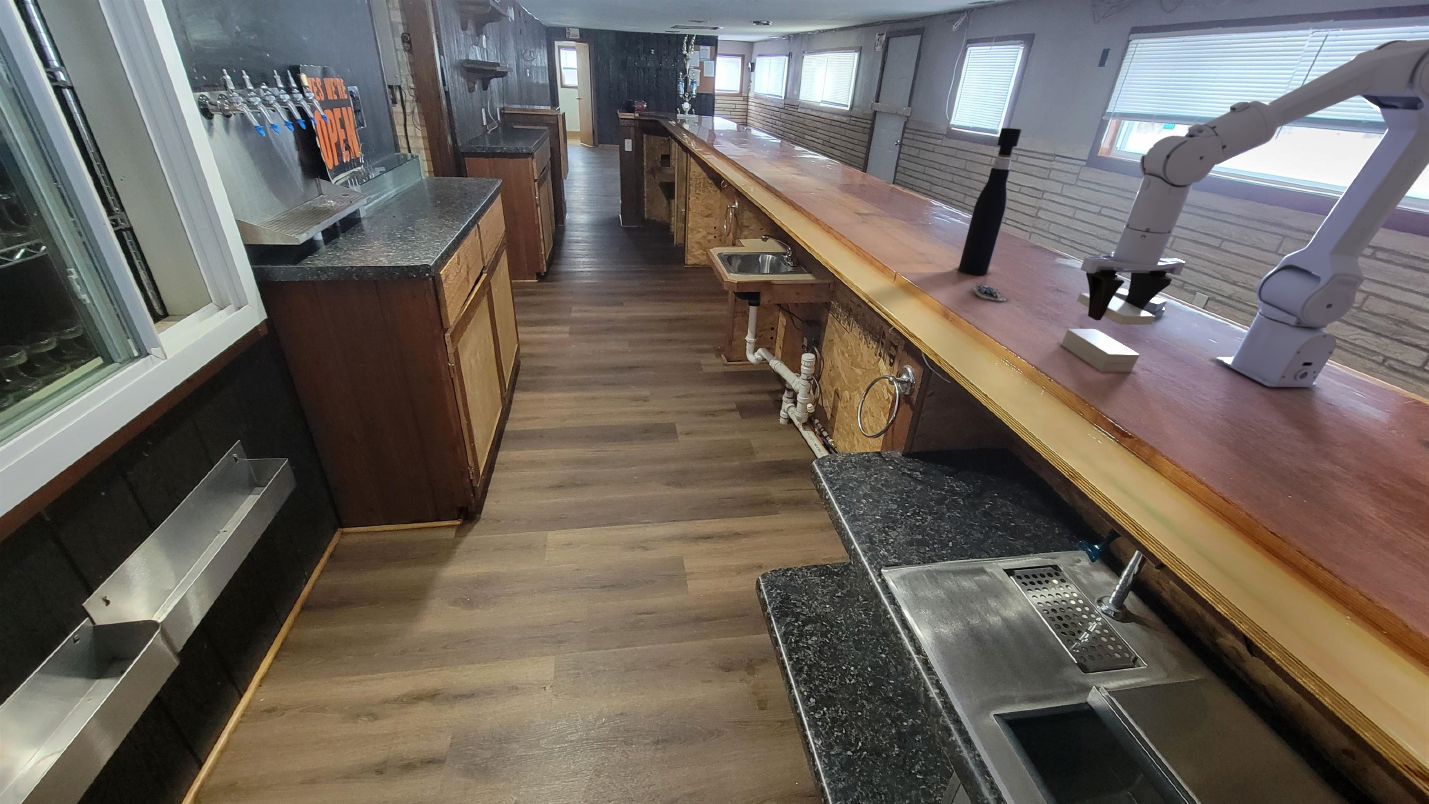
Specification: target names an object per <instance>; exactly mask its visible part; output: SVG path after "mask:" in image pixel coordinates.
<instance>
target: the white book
mask: <svg viewBox="0 0 1429 804" xmlns="http://www.w3.org/2000/svg"><path fill="white" fill-rule="evenodd" d="M1089 297H1090V294H1089V292H1086V293H1085V292H1080V293H1079V295H1078V297H1077V300H1076V302H1077V303H1079V304H1081V305H1083V306H1085V307H1086V308H1089ZM1103 317H1105V318H1106V319H1110V320H1111V321H1112V322H1115V323H1116V324H1119V325H1120V326H1121V325H1125V326H1126V325H1127V326H1128V325H1130V326H1138V325H1139V326H1152V325H1153V322H1154V318H1155V316H1154V315H1152V314H1150V313H1148V312H1146V311H1144V310H1142V309H1140V308H1138V307H1136V306H1133V305H1131V304H1129V303H1127V302H1125V301H1123V300H1121V299H1119V298H1117V297H1115V296H1113V298H1112V299H1111V301H1110V303H1109V305H1108V307H1107V310H1106V312H1105V313H1104V315H1103Z"/></svg>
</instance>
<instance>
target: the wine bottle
mask: <svg viewBox="0 0 1429 804" xmlns="http://www.w3.org/2000/svg"><path fill="white" fill-rule="evenodd" d="M1022 131H1023V130H1022V128H1013V127H1012V128H1011V127H1002V128H1001V129H1000V133H999V137H998V140H997V146H1000V147H999V150H998V153H997V157H998V158H995V160H993V162H994V164H993V165H992V166H993V167H991V168H990V171H989V176H988V179H987V181H986V183H985V184H984V186H983V189H982V190H981V192H980V193H979V195H978V198H977V199H976V202H975V204H974V208H973V210H972V211H973V212H972V215H971V219H970V223H969V226H968V230H967V234H966V238H965V241H964V246H963V250H962V254H961V257H960V262H959V265H958V270H959V271H960V272H962V273H964V274H967V275H973V276H985V275H988V273H989V270H990V266H991V264H992V260H993V256H994V253H995V249H996V246H997V242H998V239H999V236H1000V231H1001V228H1002V225H1003V222H1004V218H1005V215H1006V211H1007V205H1008V185H1007V183H1008V180H1009V177H1010V172H1011V169H1010V167H1011V164H1012V160H1011V159H1009V158H1011V157H1012V153H1013V150H1014V148H1017V147H1018V145H1019V142H1020V139H1021V134H1022Z"/></svg>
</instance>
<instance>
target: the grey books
mask: <svg viewBox="0 0 1429 804" xmlns="http://www.w3.org/2000/svg"><path fill="white" fill-rule="evenodd" d="M1128 291H1129V289H1126V288H1123V287H1120V288H1119V289H1118V290H1117V292H1116V293H1115V294H1114V296H1115V297H1117V298H1119V299H1121V300H1123V301H1125V300H1126V298H1127V295H1128ZM1167 302H1168V300H1167V299H1163V298H1161V297H1160V298H1159V297H1156V296H1155V297H1154V298H1152V299H1151V300H1150V302H1149V303H1148V304H1147V305H1146V306H1145V307H1144V308H1143V310H1144V311H1146V312H1148V313H1150V314H1152V315H1154V316H1155V318H1154V320H1157V319H1159V318H1162V317H1163V315H1164V313H1165V311H1166V308H1165V306H1166V304H1167Z"/></svg>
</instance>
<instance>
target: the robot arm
mask: <svg viewBox="0 0 1429 804" xmlns="http://www.w3.org/2000/svg"><path fill="white" fill-rule="evenodd" d="M1358 96H1359V97H1360V98H1362V99H1363V100H1364V101H1365V102H1366V103H1368V104H1369V105H1370V106H1371V107H1373V108H1374V109H1375V110H1377V111H1378V112H1379V113H1380V114H1381V116H1382V120H1383V121H1384V123H1385V125H1386V127H1387V129H1386V131H1385V132H1384V134H1383V136H1382V137H1381V138H1380V140H1379V141H1378V143H1377V144H1376V145H1375V147H1374V149H1373V150H1372V152H1371V153H1370V154H1369V156H1368V157H1367V159H1366V160H1365V162H1364V163H1363V164H1362V166H1361V167H1360V169H1359V170H1358V172H1357V173H1356V175H1355V176H1354V178H1353V179H1352V180H1351V182H1350V183H1349V185H1348V186H1347V188H1346V189H1345V190H1344V192H1343V194H1342V195H1341V196H1340V198H1339V199H1338V201H1337V202H1336V204H1335V205H1334V206H1333V208H1332V209H1331V210H1330V212H1329V214H1328V216H1327V217H1326V218H1325V219H1324V221H1323V222H1322V224H1321V225H1320V227H1319V228H1318V230H1317V231H1316V233H1315V234H1314V235H1313V236H1312V239H1310V241H1309V243H1308V244H1307V246H1306V247H1304V248H1302V249H1300V250H1297V251H1294V252H1292V253H1290V254H1287V255H1285V256H1284V257H1283V258H1282V260H1281V261H1280V262H1279V264H1277V266H1276V267H1275V268H1274V269H1273V270H1271V271H1269V272H1268V273H1267V274H1265V276H1264V277H1263V278H1262V279H1261V280H1260V282H1258V285H1257V288H1256V299H1257V300H1258V302H1259V304H1258V305H1257V307H1256V309H1258V312H1257V314H1256V315H1255V318H1254V319H1253V321H1252V323H1251V325H1250V326H1249V328H1248V330H1247V332H1246V333H1245V336H1244V337H1243V339H1242V341H1241V342H1240V344H1239V346H1238V348H1237V350H1236V352H1235V354H1234V356H1232V357H1231V356H1230V357H1229V356H1228V357H1227V356H1223V357H1222V356H1221V357H1220V356H1219V357H1216V358H1215V361H1217V362H1218V363H1221V364H1222V365H1225V366H1226V367H1229V368H1231V369H1232V370H1234V371H1236V372H1238V373H1241V374H1242V375H1244V376H1246V377H1247V378H1250V379H1252V380H1254V381H1255V382H1257V383H1260V384H1262V385H1264V386H1266V387H1269V388H1315V387H1317V383H1316V380H1317V378H1318V377H1319V376H1320V373H1321V372H1322V370H1323V369H1324V367H1325V366H1326V364H1327V362H1328V361H1329V359H1330V358H1331V357H1332V355H1333V353H1334V352H1335V349H1336V346H1337V339H1336V337H1335V336H1334V335H1333V334H1331V333H1329V332H1328V331H1326V330H1325V329H1326V328H1327V327H1328V325H1330V324H1333V323H1335V322H1337V321H1339V320H1340V319H1342V318H1344V316H1345V315H1346V314H1348V312H1350V310H1351V309H1352V308H1353V306H1354V304H1355V302H1356V296H1357V293H1358V290H1359V288H1360V287H1361V286H1362V284H1363V283H1364V282H1365V276H1364V274H1363V271H1362V269H1361V266H1360V263H1359V260H1358V259H1359V258H1360V256H1361V255H1362V254H1363V252H1364V251H1365V250H1366V248H1367V247H1368V246H1369V244H1370V243H1371V241H1372V240H1373V239H1374V238H1375V236H1376V235H1377V234H1378V232H1379V231H1380V229H1381V228H1382V227H1383V226H1384V224H1385V223H1386V222H1387V220H1388V219H1389V217H1391V215H1392V213H1393V212H1394V211H1395V209H1396V208H1397V207H1398V205H1399V204H1400V203H1401V201H1402V200H1403V199H1404V197H1405V196H1406V195H1407V193H1408V192H1409V191H1410V189H1411V188H1412V187H1413V186H1414V184H1415V183H1416V181H1417V180H1418V178H1419V177H1420V176H1421V175H1422V173H1423V172H1424V170H1425V169H1426V168H1427V166H1428V165H1429V39H1428V38H1427V39H1415V40H1414V39H1413V40H1406V39H1395V40H1389V41H1387V42H1384V43H1382V44H1380V45H1377V46H1376V47H1374V48H1373V49H1369V50H1366V51H1362V52H1360V53H1357V54H1356V55H1355V56H1354V57H1352V58H1351V59H1350V60H1349V61H1347V62H1346V63H1343V64H1341V65H1339V66H1338V67H1336V68H1334V69H1332V70H1330V71H1328V72H1326V73H1324V74H1322V75H1320V76H1318V77H1316V78H1314V79H1312V80H1311V81H1309V82H1307V83H1305V84H1303V85H1300V86H1298V87H1297V88H1295V89H1293V90H1291V91H1289V92H1287V93H1284V95H1281V96H1280V97H1278V98H1276V99H1274V100H1271V101H1270V102H1268V103H1266V102H1263V101H1259V100H1252V101H1239V102H1236V103H1234V104H1232V105H1230V106H1229V111H1228V112H1226V113H1224V114H1222V115H1219V116H1217V117H1215V118H1213V119H1211V120H1209V121H1207V122H1205V123H1203V124H1199V123H1196V124H1195V123H1194V124H1193V125H1191V126H1188V128H1187V131H1186V132H1185V133H1184V134H1183V136H1182V135H1169V136H1165V137H1163V138H1161V139H1159V140H1158V141H1156V142H1155V143H1154V144H1153V146H1152V147H1150V148H1149V150H1148V151H1147V152H1146V154H1144V155H1142V156H1141V157H1140V161H1139V169H1140V172H1141V175H1142V179H1141V181H1140V184H1139V188H1138V190H1137V194H1136V196H1135V198H1134V201H1133V203H1132V206H1131V209H1130V211H1129V214H1128V217H1127V219H1126V221H1125V223H1124V227H1123V229H1122V232H1121V234H1120V236H1119V239H1118V241H1117V244H1116V246H1115V250H1114V251H1111V253H1110V254H1105V255H1104V254H1103V255H1095V256H1084V259H1083V261H1082V264H1081V266H1080V270H1081V271H1083V272H1085V277H1086V279H1087V284H1088V293H1089V294H1090V297H1089V307H1088V311H1087V317H1089V318H1091V319H1093V320H1094V321H1101V320H1102V319H1103V318H1104V316H1103V315H1104V313H1105V312H1106V310H1107V307H1108V305H1109V303H1110V301H1111V299H1112V298H1113V296H1114V294H1115V293H1116V292H1117V290H1118V289H1119V288H1122V286H1123V285H1124V284H1125V280H1123V279H1122V278H1120V277H1118V274H1117V273H1122V274H1123V273H1127V274H1129V273H1130V281H1129V287H1128V290H1129V291H1128V295H1127V298H1126V300H1125V302H1127V303H1129V304H1131V305H1133V306H1136V307H1138V308H1140V309H1142V310H1143V308H1144V307H1145V306H1146V305H1147V304H1148V303H1149V302H1150V300H1151V299H1152V298H1154V297H1156V296H1157V295H1159V294H1160V292H1162V291H1163V290H1164V289H1166V288H1167V287H1169V286H1170V285H1171V283H1172V281H1173V278H1172V277H1169V276H1167V274H1171V275H1174V276H1180V275H1181V273H1182V272H1183V270H1184V267H1185V265H1186V261H1183V260H1181V259H1178V258H1170V257H1169V258H1168V257H1162V256H1163V254H1164V253H1165V250H1166V247H1167V245H1168V243H1169V241H1170V239H1171V237H1172V234H1173V231H1174V229H1175V227H1176V224H1177V222H1178V220H1179V218H1180V215H1181V213H1182V210H1183V209H1184V207H1185V204H1186V202H1187V199H1188V197H1189V195H1190V192H1191V190H1192V188H1193V186H1194V183H1199V182H1201V181H1202V180H1203V179H1205V178H1206V177H1207V176H1208V175H1209V174H1210V173H1211V171H1212V170H1213V168H1214V167H1216V166H1219V165H1220V164H1223V163H1225V162H1228V161H1229V160H1232V159H1234V158H1236V157H1238V156H1241V155H1243V154H1245V153H1248V152H1250V151H1252V150H1254V149H1256V148H1258V147H1261V146H1263V145H1265V144H1267V143H1269V142H1270V141H1271V140H1273V137H1274V136H1275V134H1276V132H1277V131H1278V129H1279V128H1281V127H1283V126H1286V125H1288V124H1291V123H1293V122H1296V121H1298V120H1300V119H1303V118H1305V117H1307V116H1310V115H1313V114H1316V113H1318V112H1320V111H1323V110H1325V109H1328V108H1330V107H1332V106H1335V105H1337V104H1340V103H1343V102H1344V101H1347V100H1350V99H1351V98H1354V97H1358Z"/></svg>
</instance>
